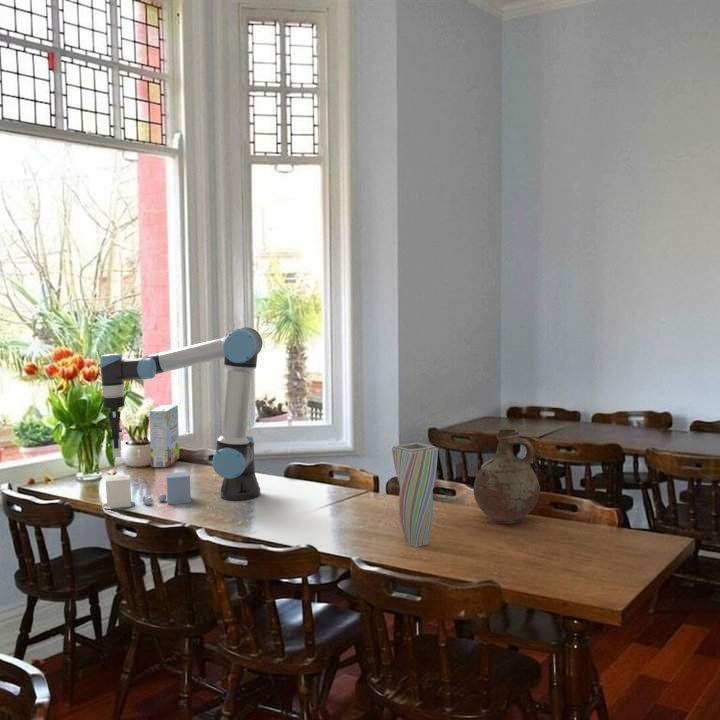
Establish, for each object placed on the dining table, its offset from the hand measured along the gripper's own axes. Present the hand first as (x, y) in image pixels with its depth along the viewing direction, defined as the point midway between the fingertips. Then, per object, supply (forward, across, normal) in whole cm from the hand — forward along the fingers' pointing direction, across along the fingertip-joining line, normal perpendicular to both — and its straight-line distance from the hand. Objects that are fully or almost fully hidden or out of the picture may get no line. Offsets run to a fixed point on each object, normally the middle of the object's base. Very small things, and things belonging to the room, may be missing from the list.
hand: (117, 453), depth 316 cm
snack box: (+20, -74, +19) cm, 79 cm away
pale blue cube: (+20, 0, +21) cm, 29 cm away
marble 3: (+18, -2, +14) cm, 22 cm away
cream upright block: (+19, 0, 0) cm, 19 cm away
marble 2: (+20, +2, +10) cm, 22 cm away
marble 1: (+19, -2, +8) cm, 21 cm away
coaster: (+20, 0, 0) cm, 20 cm away
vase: (+21, +81, +88) cm, 121 cm away
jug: (+22, +67, +124) cm, 142 cm away
